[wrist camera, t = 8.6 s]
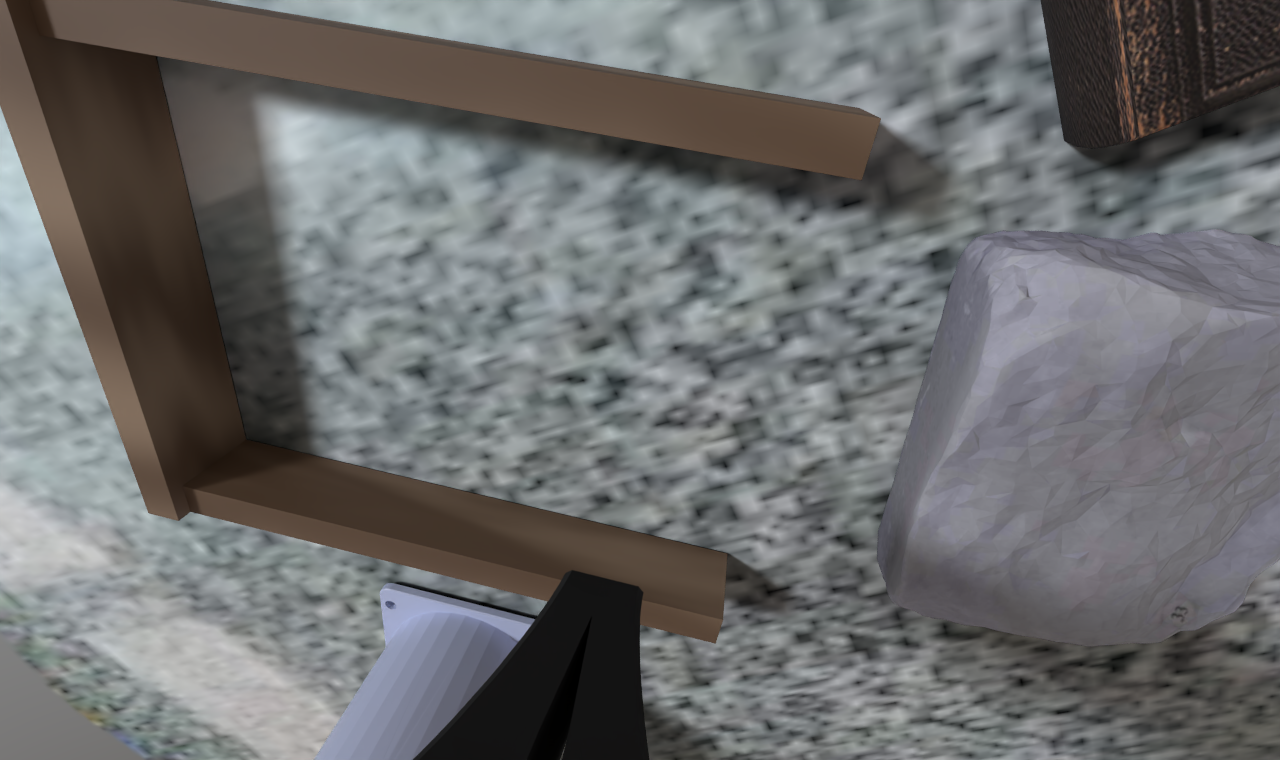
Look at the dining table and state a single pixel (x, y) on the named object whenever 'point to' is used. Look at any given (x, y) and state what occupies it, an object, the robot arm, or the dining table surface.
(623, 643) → the robot arm
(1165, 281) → the stone block
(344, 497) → the shelf lane
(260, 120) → the dining table surface
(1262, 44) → the hardcover book
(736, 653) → the dining table surface
